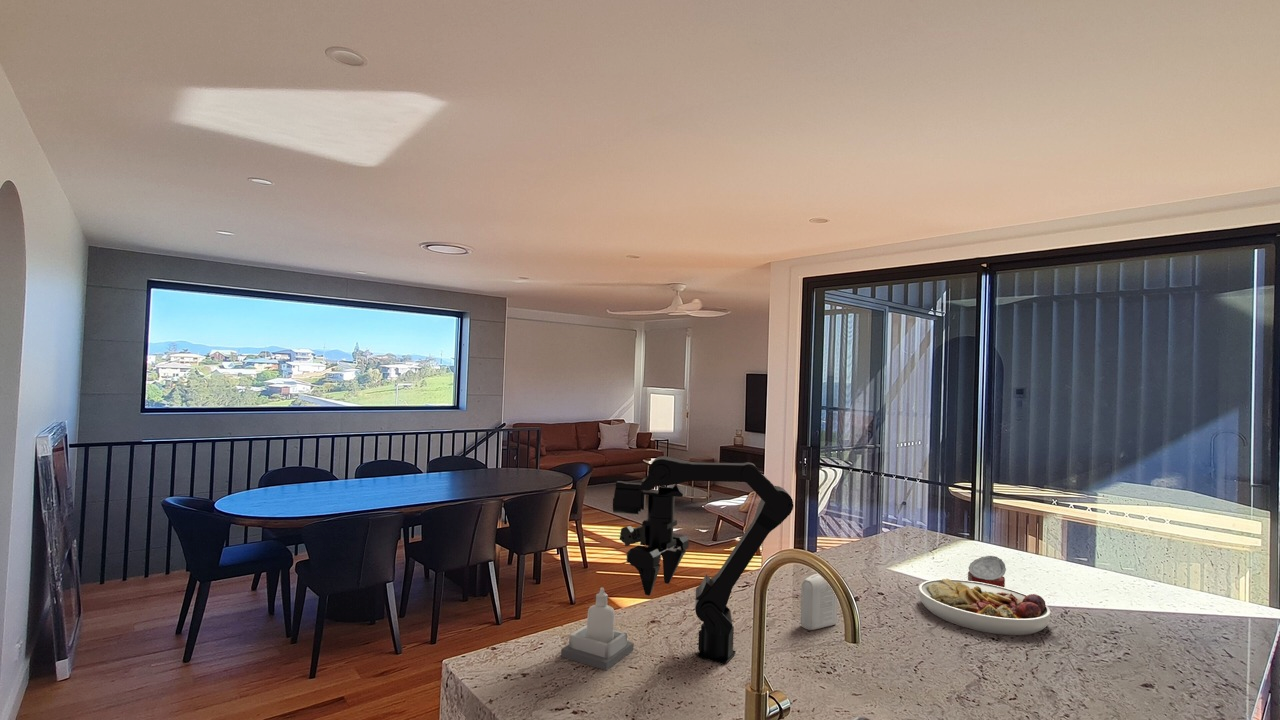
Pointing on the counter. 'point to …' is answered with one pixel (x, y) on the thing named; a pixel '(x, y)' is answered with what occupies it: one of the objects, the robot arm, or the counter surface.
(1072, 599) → the counter surface
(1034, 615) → the bowl
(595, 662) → the grey square bottle holder
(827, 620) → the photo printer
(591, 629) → the eye dropper bottle
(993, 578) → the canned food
